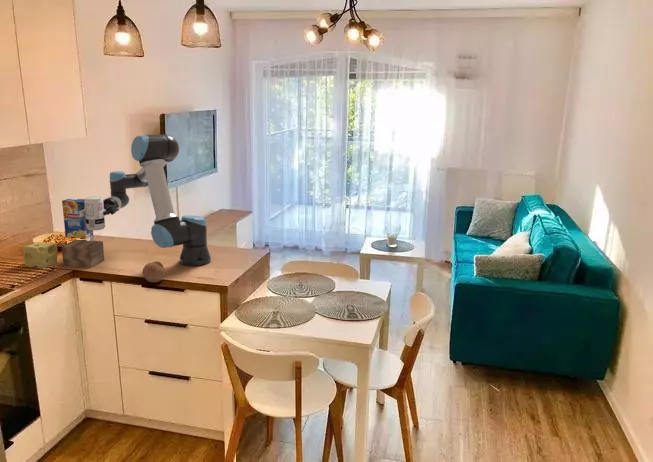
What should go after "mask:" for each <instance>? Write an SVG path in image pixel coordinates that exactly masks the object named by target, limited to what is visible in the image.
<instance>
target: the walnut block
mask: <svg viewBox="0 0 653 462" xmlns="http://www.w3.org/2000/svg"><path fill="white" fill-rule="evenodd" d="M104 249H105V248H104V241H103V240H94V241H87V240H74V241H72V242H70V243H68V244H66V243H65V244H64V245H61V253H62V254H61V256H62V264H63V267H68V268H69V267H70V268H71V267H72V268H86V269H87V268H88V269H91V268H94V267H96V266H97V265H99V264H101V263H103V262H105V253H104V252H105V251H104Z"/></svg>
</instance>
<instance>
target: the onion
mask: <svg viewBox="0 0 653 462" xmlns="http://www.w3.org/2000/svg"><path fill="white" fill-rule="evenodd" d="M165 274H166V269H165V267H164V265H163V264H162V262H161V261H153V262H148V263H146V264H145V265H144V267H143V268H142V276H143V277H144V279H145V280H146V281H147V282H148V283H150V284H151V283H153V284H155V283H159V282H161V281H162V280H163V279H164V277H165Z"/></svg>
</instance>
